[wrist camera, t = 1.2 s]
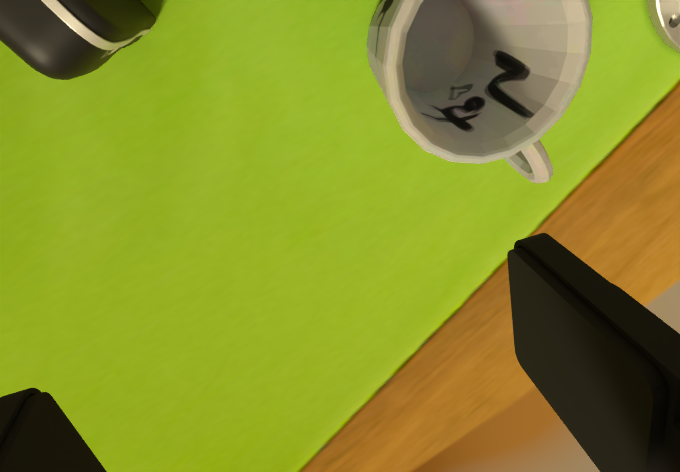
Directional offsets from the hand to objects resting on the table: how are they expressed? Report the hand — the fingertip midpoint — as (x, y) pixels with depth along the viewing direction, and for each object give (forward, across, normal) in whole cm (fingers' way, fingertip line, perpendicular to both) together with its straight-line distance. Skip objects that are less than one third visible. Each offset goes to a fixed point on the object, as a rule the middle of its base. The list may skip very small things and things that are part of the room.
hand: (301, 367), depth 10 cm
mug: (+25, -12, 0) cm, 28 cm away
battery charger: (+25, +7, -9) cm, 27 cm away
